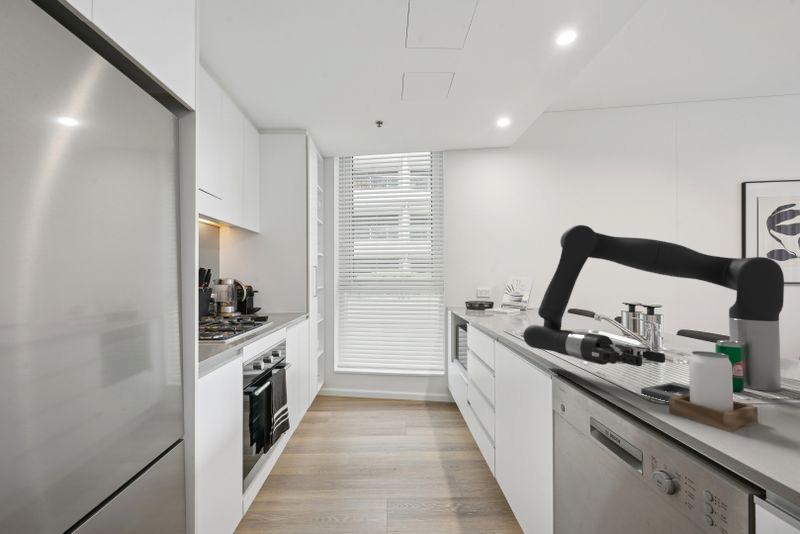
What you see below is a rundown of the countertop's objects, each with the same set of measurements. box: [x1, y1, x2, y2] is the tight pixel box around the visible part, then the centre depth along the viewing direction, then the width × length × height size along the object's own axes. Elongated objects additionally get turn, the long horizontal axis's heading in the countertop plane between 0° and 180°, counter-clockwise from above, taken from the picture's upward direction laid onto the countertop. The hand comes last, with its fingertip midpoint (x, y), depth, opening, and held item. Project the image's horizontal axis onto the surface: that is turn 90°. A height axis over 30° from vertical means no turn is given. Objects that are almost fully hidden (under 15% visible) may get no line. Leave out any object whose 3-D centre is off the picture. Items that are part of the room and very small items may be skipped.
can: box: [688, 350, 734, 412], centre depth 71 cm, size 6×6×12 cm
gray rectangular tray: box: [640, 381, 690, 401], centre depth 82 cm, size 13×9×2 cm
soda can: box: [714, 339, 745, 393], centre depth 89 cm, size 5×5×12 cm
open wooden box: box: [668, 393, 759, 432], centre depth 70 cm, size 10×10×3 cm
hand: (653, 360), depth 80 cm, fingers open, 8 cm apart
